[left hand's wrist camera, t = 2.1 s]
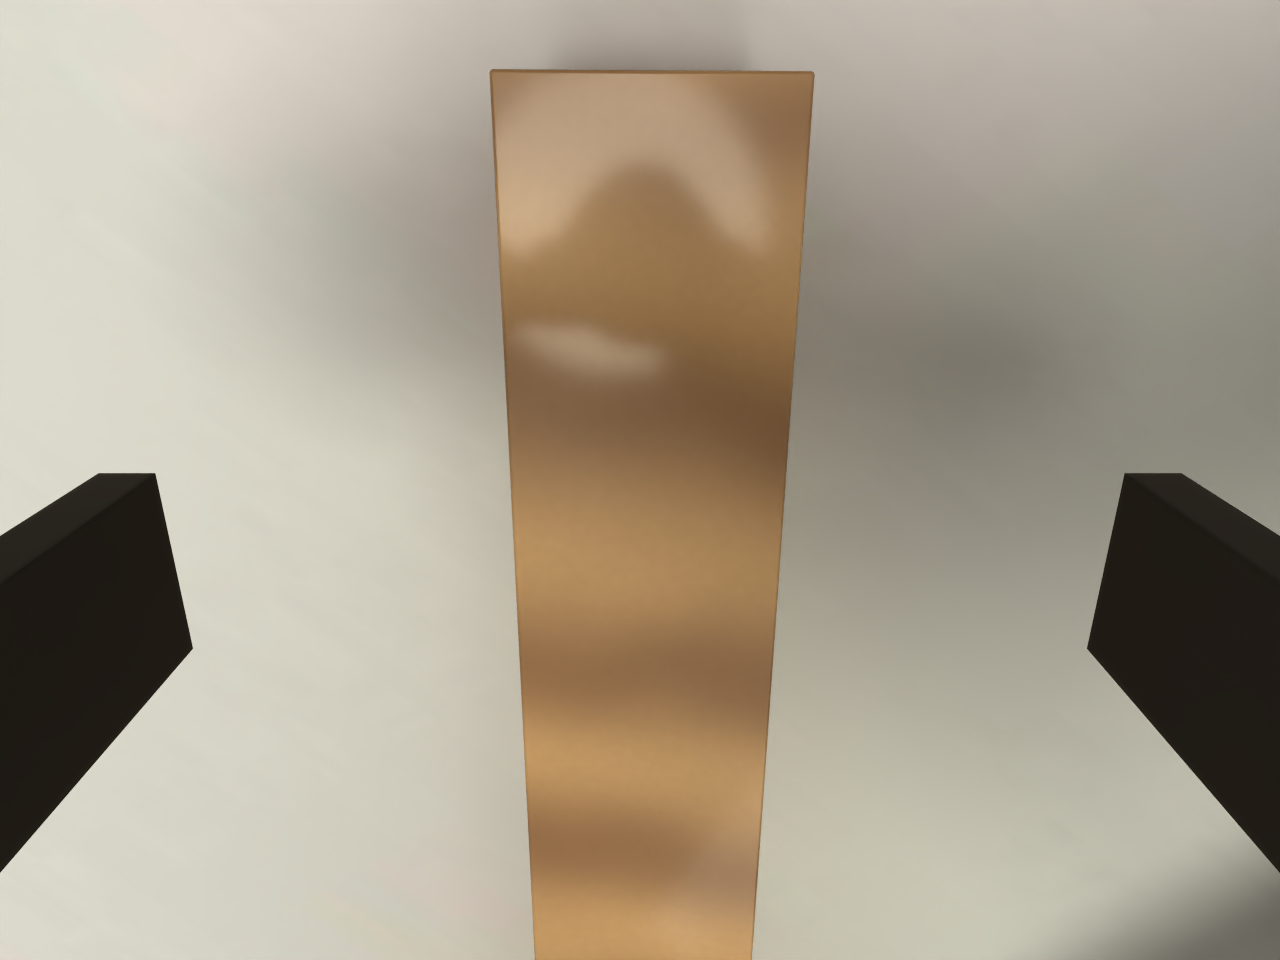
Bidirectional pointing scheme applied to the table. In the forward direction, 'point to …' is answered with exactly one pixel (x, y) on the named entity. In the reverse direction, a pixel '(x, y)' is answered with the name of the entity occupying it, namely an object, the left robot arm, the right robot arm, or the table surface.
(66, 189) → the table surface
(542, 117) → the post
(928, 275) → the table surface
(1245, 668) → the left robot arm
